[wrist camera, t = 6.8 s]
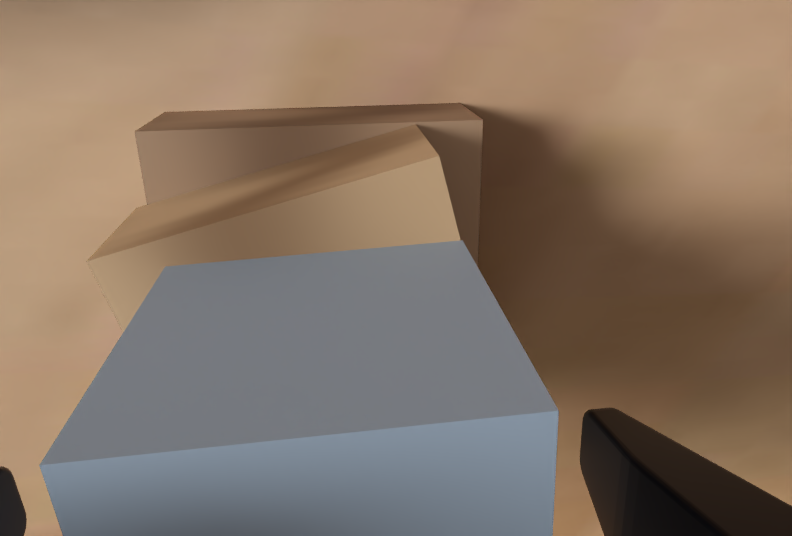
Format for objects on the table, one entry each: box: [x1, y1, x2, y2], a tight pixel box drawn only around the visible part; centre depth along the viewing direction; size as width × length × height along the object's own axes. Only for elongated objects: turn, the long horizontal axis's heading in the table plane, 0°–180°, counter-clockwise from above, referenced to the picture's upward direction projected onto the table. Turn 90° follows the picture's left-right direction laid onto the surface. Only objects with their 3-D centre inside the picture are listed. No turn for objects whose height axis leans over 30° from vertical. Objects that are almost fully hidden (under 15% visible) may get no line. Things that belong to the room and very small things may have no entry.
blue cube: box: [39, 240, 559, 536], centre depth 9 cm, size 5×5×5 cm
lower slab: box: [135, 103, 483, 267], centre depth 16 cm, size 7×7×3 cm
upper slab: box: [86, 124, 461, 332], centre depth 13 cm, size 6×6×3 cm
